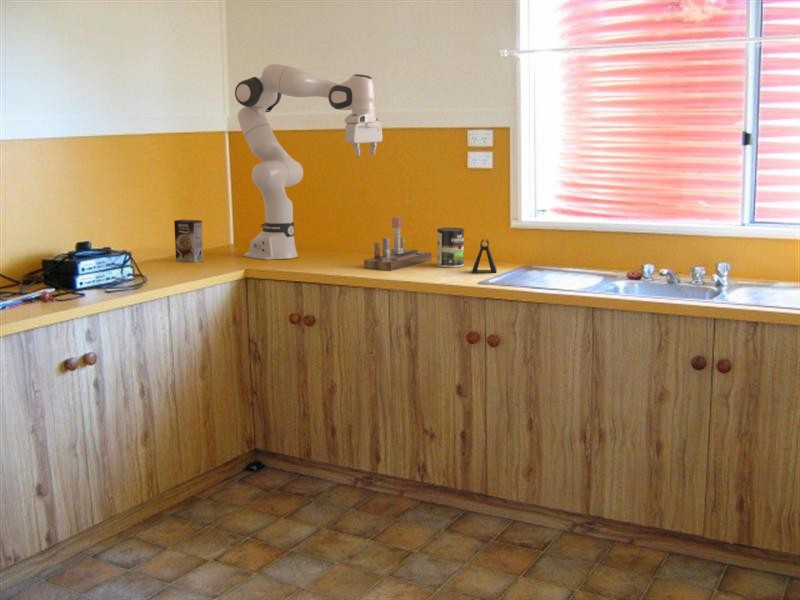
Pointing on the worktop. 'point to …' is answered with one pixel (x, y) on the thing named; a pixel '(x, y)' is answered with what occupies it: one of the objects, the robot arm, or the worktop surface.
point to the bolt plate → (395, 257)
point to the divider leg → (397, 235)
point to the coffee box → (188, 240)
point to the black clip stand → (490, 259)
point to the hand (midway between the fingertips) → (365, 155)
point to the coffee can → (450, 247)
